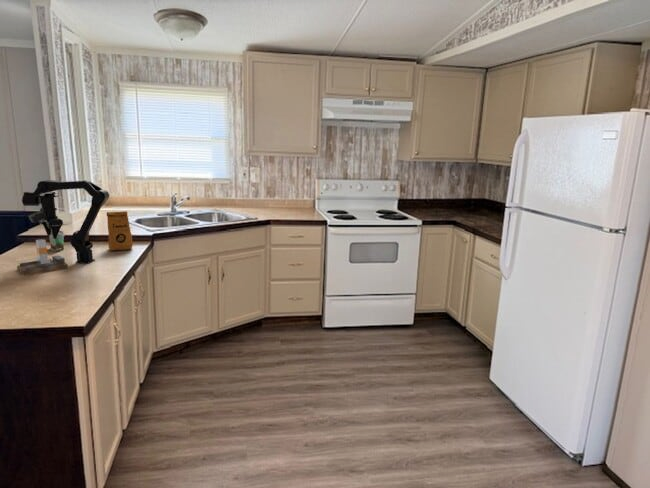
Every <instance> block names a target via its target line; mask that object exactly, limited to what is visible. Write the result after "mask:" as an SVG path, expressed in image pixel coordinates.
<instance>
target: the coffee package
mask: <svg viewBox="0 0 650 488" xmlns="http://www.w3.org/2000/svg"><path fill="white" fill-rule="evenodd" d="M106 217H107V229H108V231H107V232H108V235H107V236H108V244H107V245H108V249H109V251H127V250H128V251H129V250H133V249H132V248H133V244H134V243H133V236H132V233H131V227H130V221H129V216H128V211H127V210H126V211H125V210H124V211H123V210H122V211H107V212H106Z"/></svg>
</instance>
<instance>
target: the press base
mask: <svg viewBox="0 0 650 488" xmlns="http://www.w3.org/2000/svg"><path fill="white" fill-rule="evenodd" d="M49 259H50V261H51V263H50V264H43V265H38V264H36V260H32V261H26V262H21V263H19V265H16V269H17V271H18V272H20V273H21V274H22V275H24V276H29V275H34V274H35V275H36V274H41V273H47V272H53V271H57V270H58V271H59V270H63V269H64V270H65V269H68V268H69V266H68V265H69V264H68V263H67V262H66V261H65V259H66V258H65V257H63V256H61V255H52V256H51V258H49Z"/></svg>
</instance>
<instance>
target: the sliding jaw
mask: <svg viewBox="0 0 650 488" xmlns="http://www.w3.org/2000/svg"><path fill="white" fill-rule="evenodd" d="M35 244H36V245H35V246H36V254H37V257H35V261H36V264H38V265H43V264H50V263H51V261H50V259H51V258H49V257H48V248H47V240H46V239H44V238H42V239H35Z"/></svg>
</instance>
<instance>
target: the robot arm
mask: <svg viewBox="0 0 650 488" xmlns="http://www.w3.org/2000/svg"><path fill="white" fill-rule="evenodd" d="M36 186H37V187H36V188H35V190H34V192H33V191H32V192H30V191H24V192H23V195H22V199H21V202H22V205H24V206H25V207H38V206H40V205H41V207H40V209H39V211H36V212H34V213H32V214H30V215H28V218H29V220H30V222H31V223H33V224H34V223H37V222H38V223H39V224H41V225H42V226H43V228H44V230H45V234H46V235H47V236H48V237H49V236H50V234H51V232H52V235H53V238H54V239H56V238H57V235H58V233H59V231H61V229H62V227H63V225H64V222H63V220H62V219H61V218H59V217H58V216H57V212H56V211H58V209H57V207H56V203H55V200H56V199H55V198H58V197H60V195H59V194H57V193H56V192H55V191H59V190H79V189H80V190H81V189H83V190H85V192H87V194H88V195H89V196H91V206H90V208H89V209H88V212H87V214H86V216H85V218H84V221H83V222H82V225H81V226H80V228H79V229H78V230H76V231H74V232H73V233H72V236H71V237H70V239H69V240H70V244H71V246H72V247H73V248H74V251H75V252H76V261H75V263H76V264H90V263H92V262H94V261H95V260H96V259H95V258H94V257H93V250H92V249H93V246H94V244H93V243H92V242H91V241H90V240H89V239H90V232H91V229H92V226H93V225H94V223H95V221H96V218H97V216H98V214H99V213H100V211H101V208H102V207H103V206H104V205H105V204H106V203H107V201H108V200H109V198H110V193H109V191H108V190H106V189H103V188H101V187H100V186H98V185H97V184H95V183H93V182H92V181H91V180H90V179H85V180H75V181H72V180H70V181H57V180H51V179H47V180H40V181H39V182H38V183H37V185H36Z"/></svg>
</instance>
